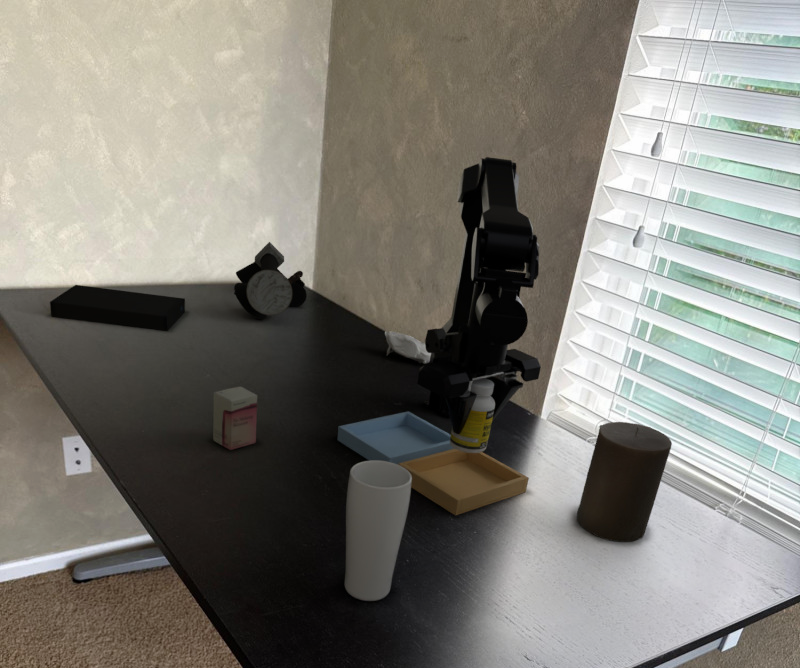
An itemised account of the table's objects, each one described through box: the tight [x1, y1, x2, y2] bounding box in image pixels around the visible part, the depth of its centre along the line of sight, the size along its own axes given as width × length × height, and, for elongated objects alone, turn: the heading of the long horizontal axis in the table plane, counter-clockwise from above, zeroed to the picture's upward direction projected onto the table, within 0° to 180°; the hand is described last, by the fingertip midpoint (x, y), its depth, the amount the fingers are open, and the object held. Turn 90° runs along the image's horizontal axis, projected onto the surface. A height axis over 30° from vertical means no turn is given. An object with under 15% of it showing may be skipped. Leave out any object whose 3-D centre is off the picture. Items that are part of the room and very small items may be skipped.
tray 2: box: [398, 449, 530, 516], centre depth 119 cm, size 15×13×2 cm
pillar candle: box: [576, 421, 673, 542], centre depth 111 cm, size 10×10×15 cm
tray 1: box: [337, 410, 455, 465], centre depth 128 cm, size 15×13×2 cm
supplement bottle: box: [450, 378, 495, 453], centre depth 114 cm, size 5×5×10 cm
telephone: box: [233, 241, 308, 320], centre depth 184 cm, size 15×13×30 cm
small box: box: [212, 386, 258, 451], centre depth 121 cm, size 5×4×8 cm
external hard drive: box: [49, 284, 186, 332], centre depth 168 cm, size 14×23×3 cm, turn 89°
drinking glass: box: [343, 460, 412, 602], centre depth 90 cm, size 7×7×15 cm
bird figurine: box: [384, 329, 431, 365], centre depth 165 cm, size 5×7×10 cm
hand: (470, 429), depth 115 cm, fingers closed on supplement bottle, 5 cm apart
